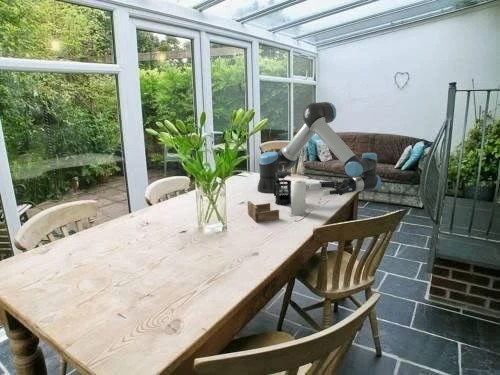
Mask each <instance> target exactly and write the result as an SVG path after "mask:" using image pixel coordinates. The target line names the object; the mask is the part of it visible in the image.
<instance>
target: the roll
mask: <svg viewBox="0 0 500 375" xmlns="http://www.w3.org/2000/svg"><path fill="white" fill-rule="evenodd" d="M291 181H292V182H291V204H290V214H291V215H293V216H304V215H305V214H306V181H305V180H291Z"/></svg>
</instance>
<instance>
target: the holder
mask: <svg viewBox="0 0 500 375" xmlns="http://www.w3.org/2000/svg"><path fill="white" fill-rule="evenodd" d="M247 214H248V216H249V218H251V219H252V220H253V222H255V223H262V222H268V221H276V220H279V219H280V210H279V209H273V210H271V203H270V202H269V203H267V202H266V203H261V204H259V203H258V204H254V203H253V202H252V201H250V200H247Z"/></svg>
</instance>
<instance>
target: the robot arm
mask: <svg viewBox="0 0 500 375" xmlns="http://www.w3.org/2000/svg"><path fill="white" fill-rule="evenodd" d="M336 117H337V108H336V107H335V105H334V104H333V103H332V102H329V101H321V102H320V101H319V102H318V101H317V102H311V103H308V104H307V105H305V107H304V108H303V111H302V119H303V122H304V124H303V125H302V126H301V127H300V129H299V130H298V131H297V133H296V134H294V136H293V137H292V139H291V140H290V141H289V142H288V144H287V145H286V146H283V147H282V148H281V149H280V150H279V151H278V152H277V151H266V152H263V153H261V154H260V155H259V160H258V163H259V180H258V183H257V188H256V189H257V191H258V192H259V193H263V194H272V193H273V194H274V181H275V180H277V181H278V180H280V178H276V174H275V173H276V172H280V171H283V166H282V163H279V162H287V163H284V171H287V170H290V169H292V168H294V167H295V166H296V165H297V160H298V155H299V153H300V152H301V151H302V150H303V149H304V147H305V146H306V145H307V144H308V143H309V142H310V140H312V138H313V137H314V136H315V134H316V135H317V137H319V138H320V140H321V141H322V142H323V143H324V144H325V145H326V147H328V149H329V150H330V151H331V152H332V153H333V154H334V156H335V157H336V158H337V159H338V160H339V161H340V162H341V164H343V166H344V171H345V174H346V175H347V176H348V178H345V179H343V180H342V181H338V180H334V181H322V180H321V181H319V182H317V183H310V184H309V186H308V187H309V190H310V191H311V190H318V189H320V190H321V189H322V188H323V189H324V188H328V189H324V190H322V196H323V197H326V196H333V195H336V196H337V195H339V196H343V195H345V194H349V193H359V192H363V191H372V190H376V189H379V188H380V187H381V184H382V180H381V177H380V176H379V175H378V174H377V168H378V155H377V153H375V152H363V153H362V154H361V159H360V158H359V157H358V156H357V155H356V154H355V153H354V152H353V151H352V149H351V148H350V147H349V146H348V145H347V143H345V142H344V140H343V139H342V138H341V137H340V136H339V135H338V134H337V133H336V131H335V130H334V129H333V128H332V127H331V126H330V125H329V124H330V123H333V122H334V121H335V120H336ZM279 184H281V182H280V183H279ZM279 190H282V186H279ZM276 191H277V189H276Z"/></svg>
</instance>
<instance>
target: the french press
mask: <svg viewBox="0 0 500 375" xmlns="http://www.w3.org/2000/svg"><path fill="white" fill-rule="evenodd" d="M279 163H282V166H283V170H282V171H279V172H276V173H275V174H276V178H279V180H278V181H277V180H275V181H274V193H273V196H274V198H275V200H274V203H275V204H276V205H277V206H289V205H290V206H291V182H292V181H293V180H289V179H288V180H287V179H285V178H286V177H287V176H288V177H291V176H292V171H287V170H284V163H287V162H279ZM279 183H280V184H279ZM279 186H281V187H282V189H281V190H279ZM285 187H286V189H285ZM276 189H277V191H276Z"/></svg>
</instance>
